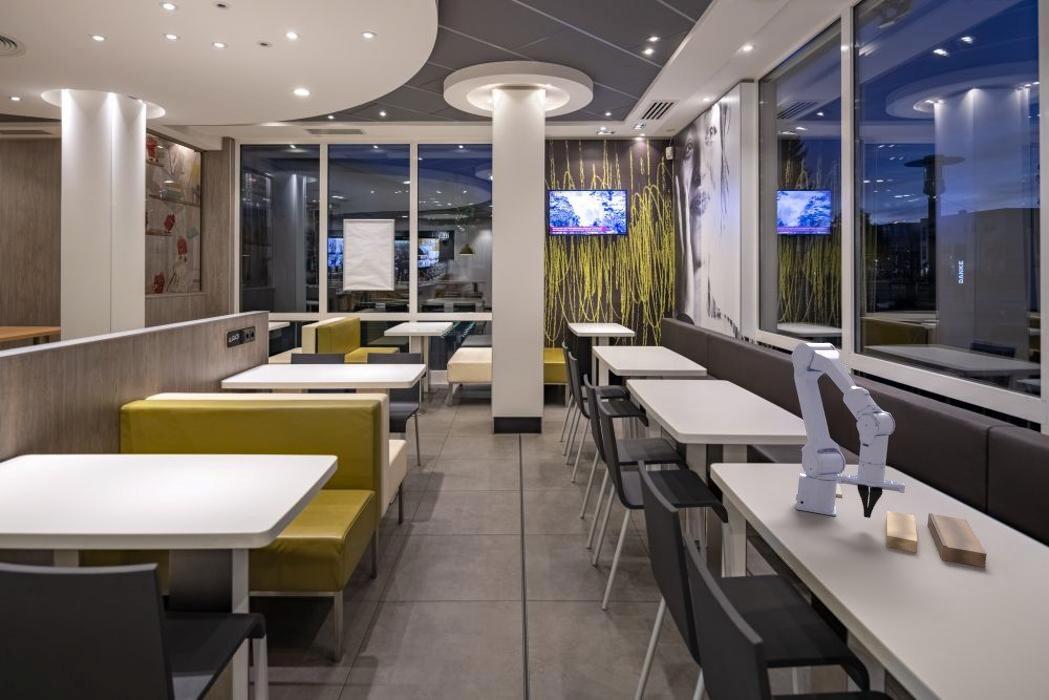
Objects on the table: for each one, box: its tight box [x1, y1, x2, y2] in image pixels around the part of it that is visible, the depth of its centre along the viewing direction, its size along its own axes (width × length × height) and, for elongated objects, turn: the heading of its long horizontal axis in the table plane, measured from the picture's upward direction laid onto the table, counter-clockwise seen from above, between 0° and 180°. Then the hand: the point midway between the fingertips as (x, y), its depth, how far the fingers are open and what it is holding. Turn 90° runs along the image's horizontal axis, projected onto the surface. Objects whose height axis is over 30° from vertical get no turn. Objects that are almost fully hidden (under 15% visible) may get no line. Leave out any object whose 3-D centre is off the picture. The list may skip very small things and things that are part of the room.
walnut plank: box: [927, 512, 987, 568], centre depth 157 cm, size 8×24×3 cm, turn 156°
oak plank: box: [885, 510, 918, 553], centre depth 161 cm, size 6×20×3 cm, turn 152°
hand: (866, 516), depth 164 cm, fingers closed
